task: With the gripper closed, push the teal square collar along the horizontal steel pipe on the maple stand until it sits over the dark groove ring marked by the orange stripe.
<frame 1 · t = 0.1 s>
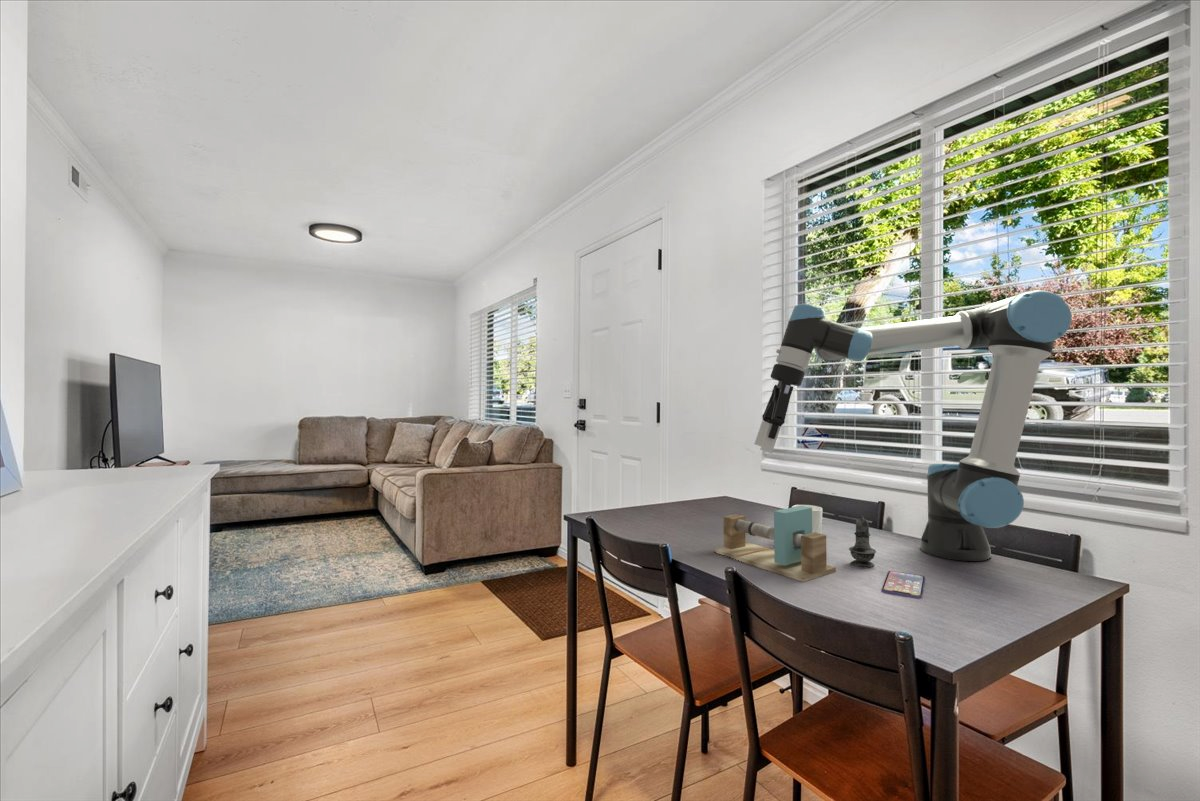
hand: (762, 448, 135), 28 cm above the table, tool tilted 20°, fingers open, 13 cm apart
white cup: (807, 544, 149), on the table
black chess piece: (862, 565, 131), on the table
smartphone: (904, 587, 117), on the table
pipe stand: (771, 561, 134), on the table
collar: (793, 534, 128), point 8 cm above the table, slide at 0.0 cm
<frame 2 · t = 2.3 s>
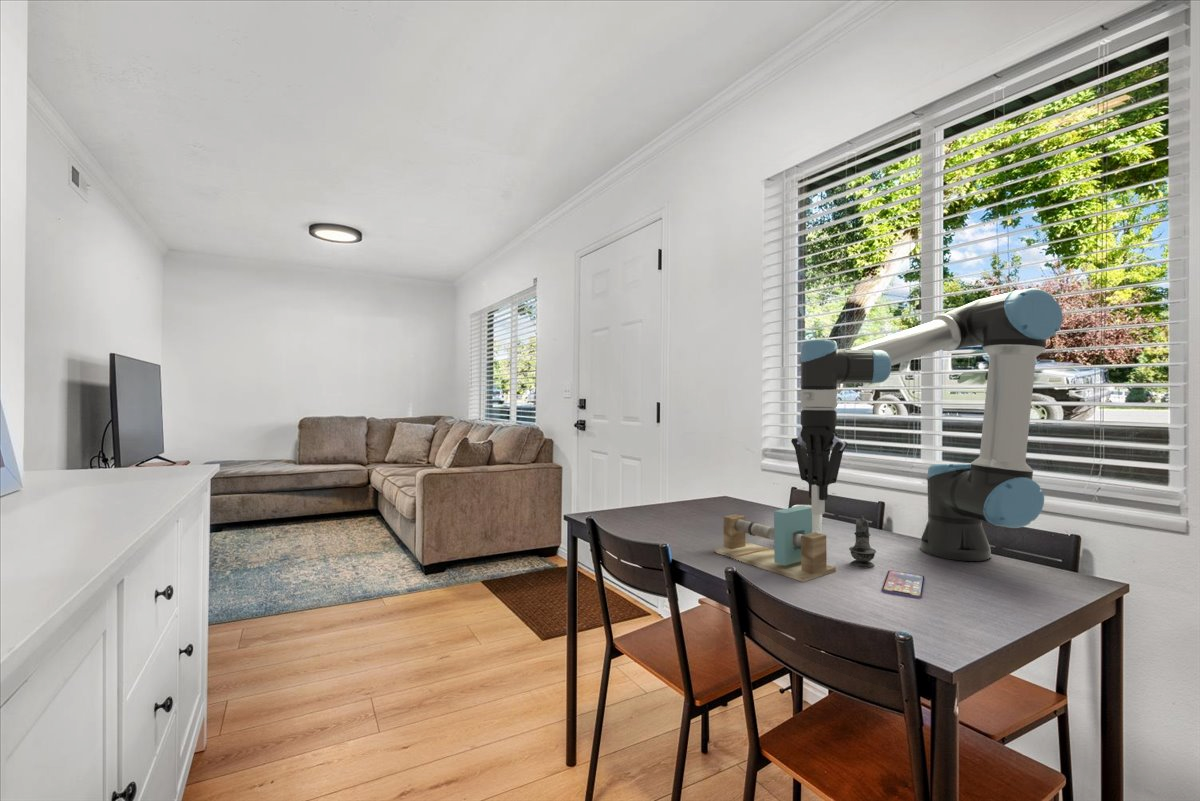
hand: (818, 513, 122), 14 cm above the table, tool pointing down, fingers closed
nothing on the table moved.
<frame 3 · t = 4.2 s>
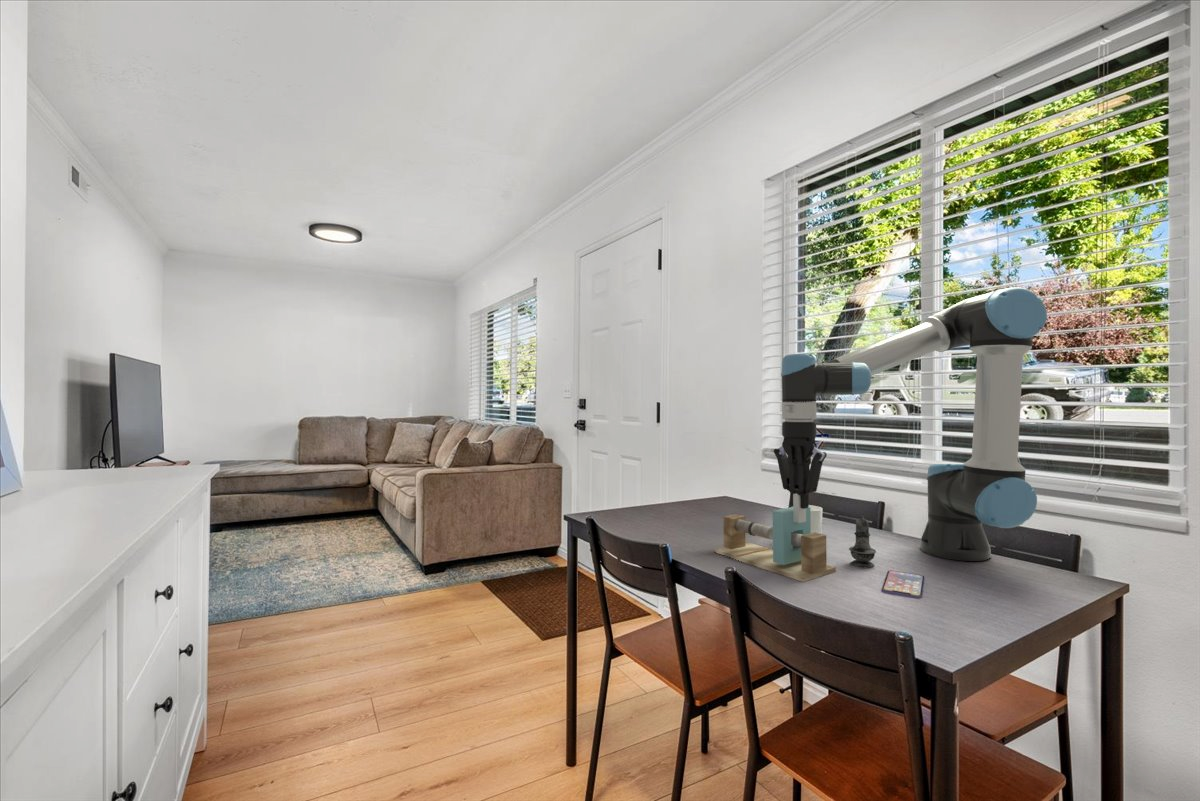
hand: (799, 521, 127), 11 cm above the table, tool pointing down, fingers closed
collar: (791, 534, 129), point 8 cm above the table, slide at 0.4 cm, touching gripper
everything else where it was.
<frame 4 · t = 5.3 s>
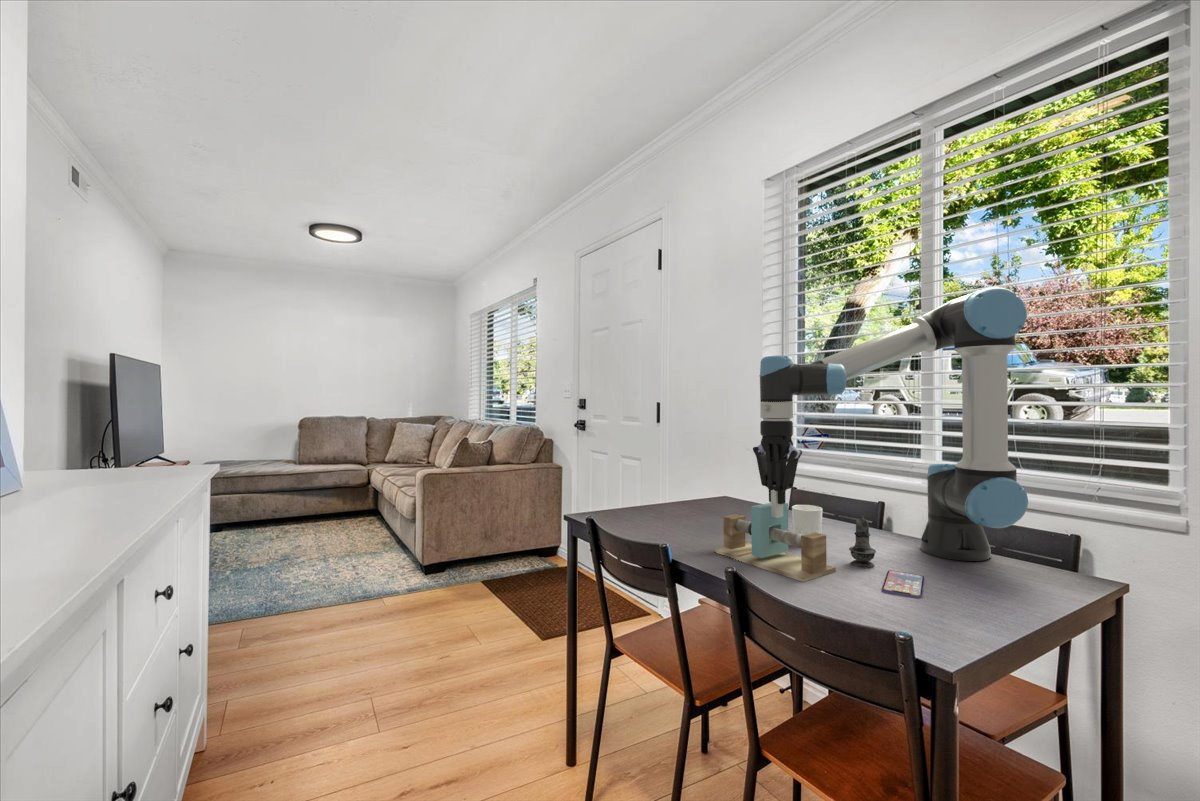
hand: (777, 516, 132), 11 cm above the table, tool pointing down, fingers closed
collar: (770, 529, 134), point 8 cm above the table, slide at 6.8 cm, touching gripper
everything else where it was.
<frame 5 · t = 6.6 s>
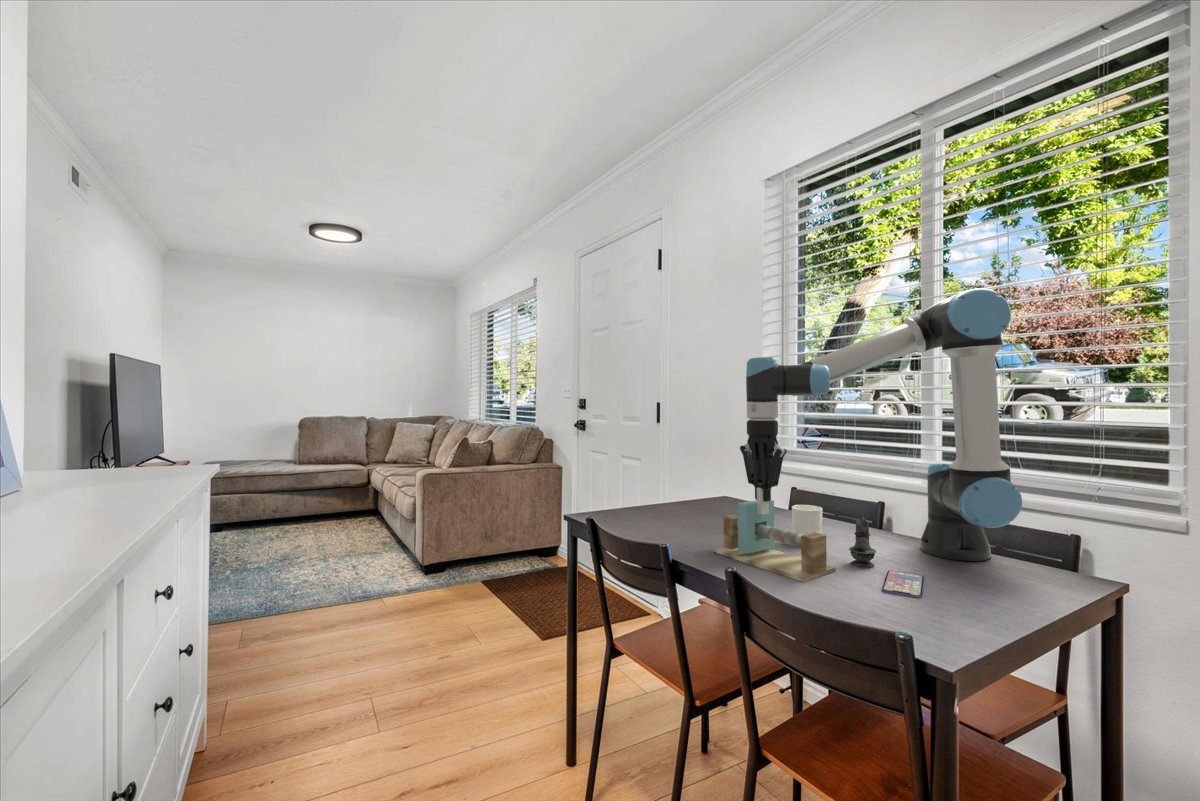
hand: (762, 513, 136), 11 cm above the table, tool pointing down, fingers closed
collar: (756, 525, 138), point 8 cm above the table, slide at 11.2 cm, touching gripper
everything else where it was.
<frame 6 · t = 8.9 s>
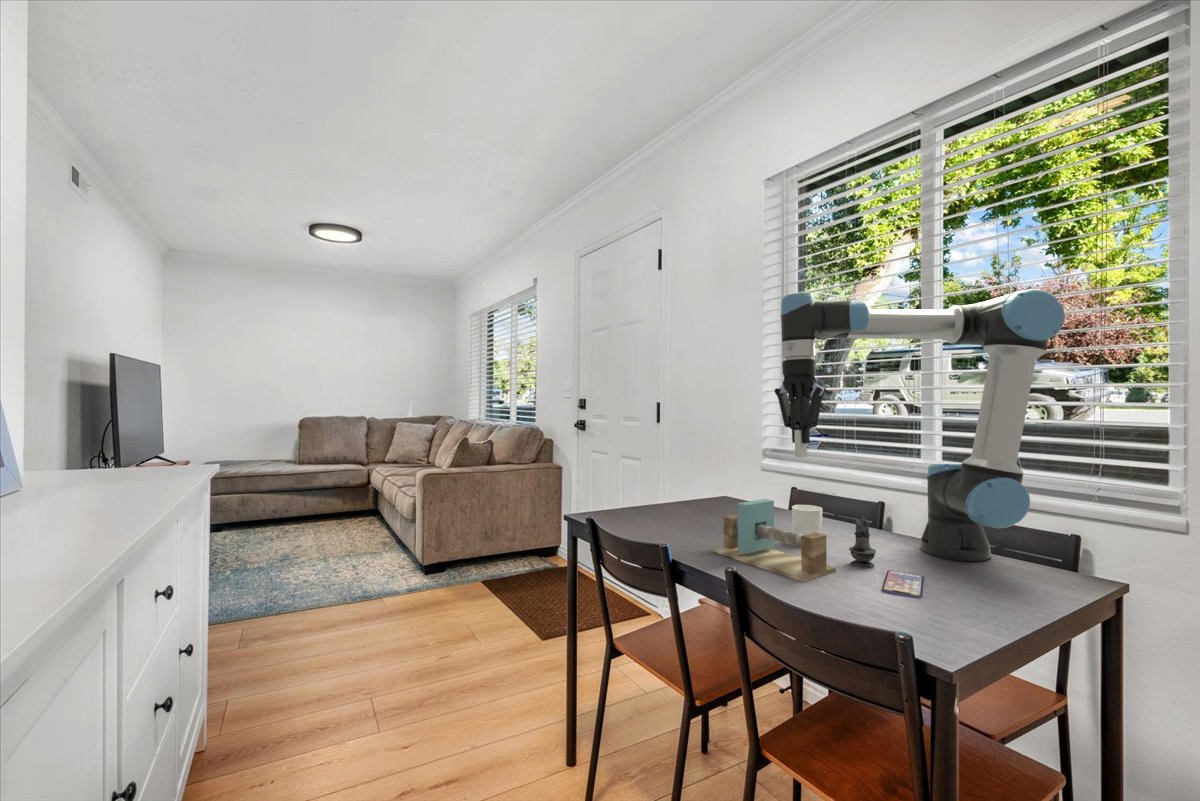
hand: (801, 456, 131), 26 cm above the table, tool pointing down, fingers closed
collar: (756, 525, 138), point 8 cm above the table, slide at 11.2 cm
everything else where it was.
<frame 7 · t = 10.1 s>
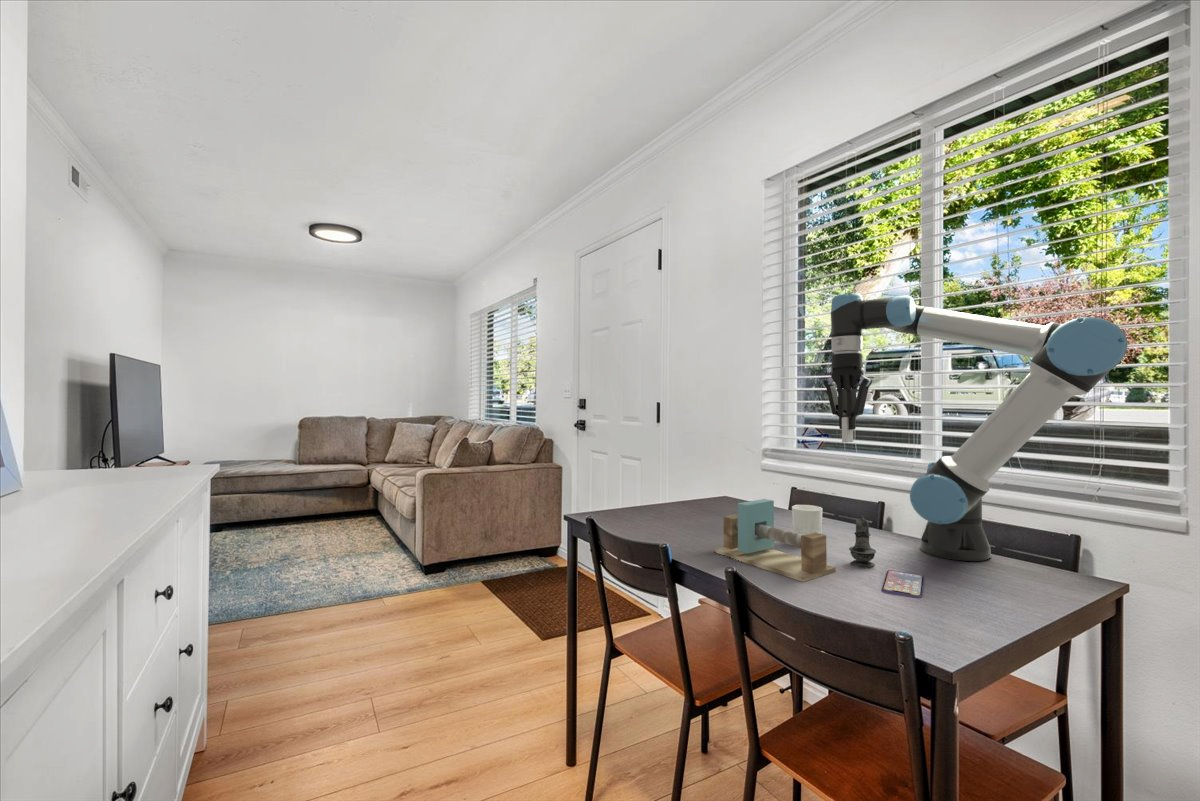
hand: (847, 441, 144), 28 cm above the table, tool pointing down, fingers closed
nothing on the table moved.
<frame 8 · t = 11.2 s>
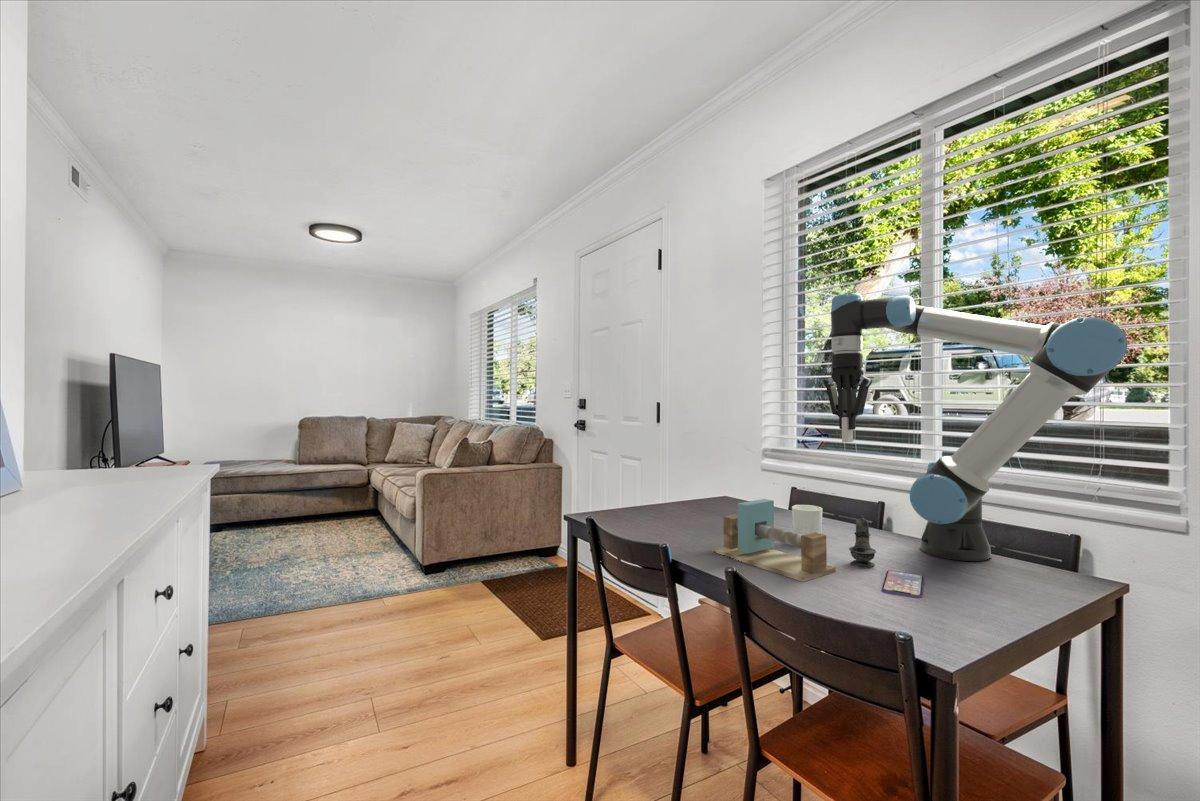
hand: (847, 441, 144), 28 cm above the table, tool pointing down, fingers closed
nothing on the table moved.
at the end: collar slide at 11.2 cm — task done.
